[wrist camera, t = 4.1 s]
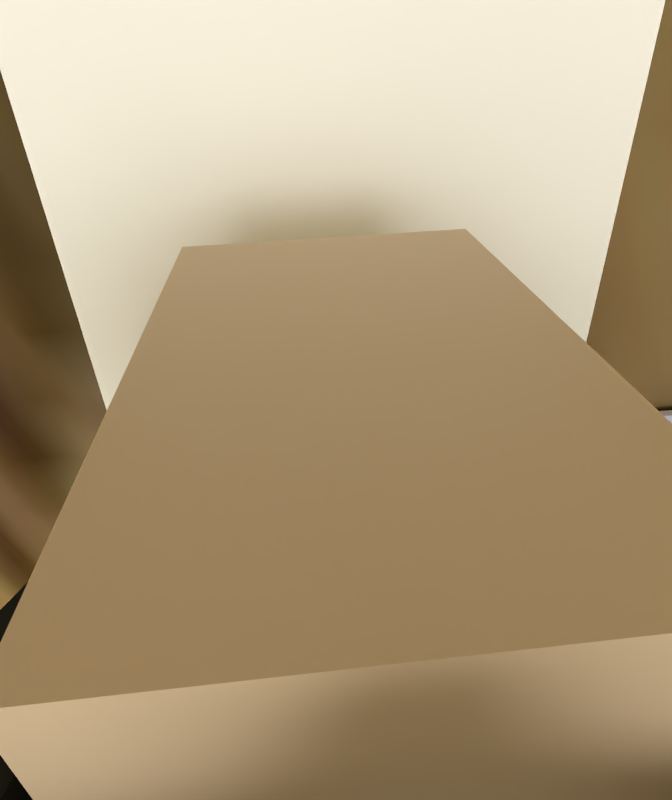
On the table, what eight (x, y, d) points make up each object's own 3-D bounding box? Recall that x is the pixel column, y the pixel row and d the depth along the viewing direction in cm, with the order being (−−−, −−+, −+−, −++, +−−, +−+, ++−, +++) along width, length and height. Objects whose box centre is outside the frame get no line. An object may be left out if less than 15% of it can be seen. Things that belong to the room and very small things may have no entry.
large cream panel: (756, -480, 10) (979, -722, 7) (561, 404, 19) (615, 469, 16) (-160, -495, 9) (-394, -787, 6) (124, 441, 18) (94, 518, 15)
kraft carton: (465, 229, 10) (871, 611, 3) (439, 515, 14) (600, 966, 7) (170, 247, 10) (-70, 715, 3) (227, 534, 13) (181, 1029, 7)
